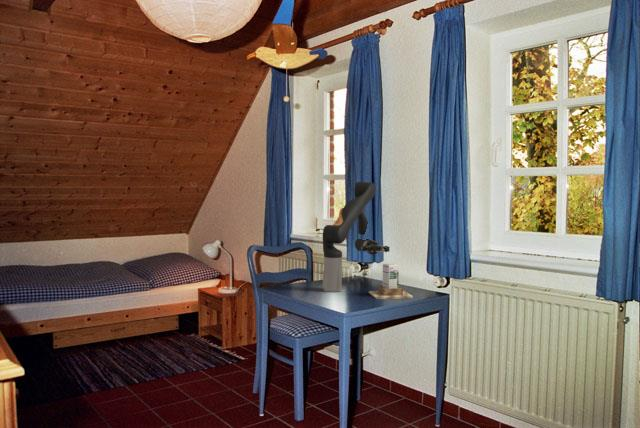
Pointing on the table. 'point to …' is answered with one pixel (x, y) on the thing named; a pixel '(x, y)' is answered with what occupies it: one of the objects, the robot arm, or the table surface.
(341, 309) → the table surface
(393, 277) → the syrup box
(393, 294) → the socket caddy
